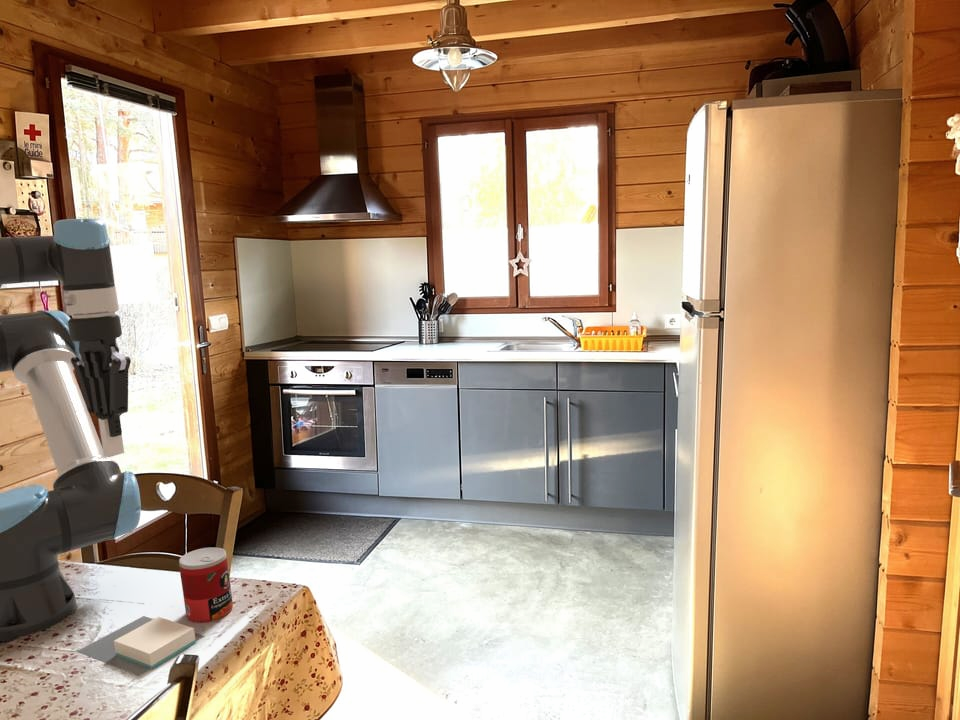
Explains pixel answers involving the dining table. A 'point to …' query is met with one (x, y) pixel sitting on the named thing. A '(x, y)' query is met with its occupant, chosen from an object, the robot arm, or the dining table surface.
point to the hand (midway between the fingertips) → (114, 454)
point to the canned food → (206, 584)
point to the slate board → (106, 648)
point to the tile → (154, 642)
